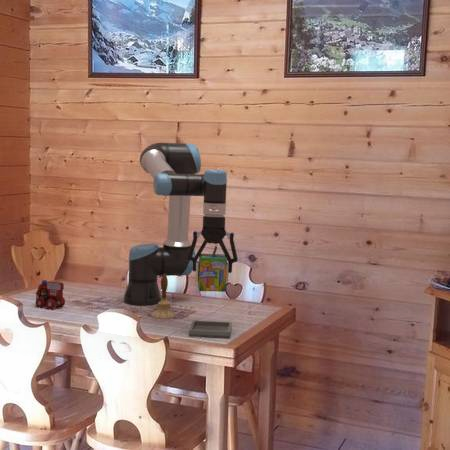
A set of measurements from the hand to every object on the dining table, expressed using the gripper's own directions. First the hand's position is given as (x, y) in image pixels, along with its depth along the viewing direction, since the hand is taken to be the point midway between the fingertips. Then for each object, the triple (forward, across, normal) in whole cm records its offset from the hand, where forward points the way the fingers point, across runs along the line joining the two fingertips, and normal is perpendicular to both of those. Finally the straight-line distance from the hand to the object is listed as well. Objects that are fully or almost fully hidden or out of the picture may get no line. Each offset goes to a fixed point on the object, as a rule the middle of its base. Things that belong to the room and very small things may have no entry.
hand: (212, 281), depth 232 cm
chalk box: (+3, 0, 0) cm, 3 cm away
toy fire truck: (+18, -64, +27) cm, 72 cm away
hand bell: (+18, -19, +20) cm, 33 cm away
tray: (+18, 0, 0) cm, 18 cm away
